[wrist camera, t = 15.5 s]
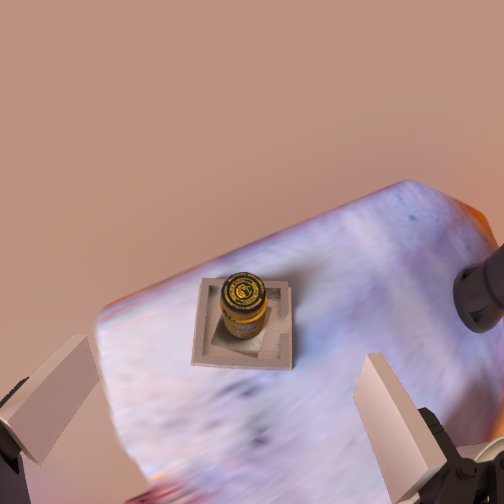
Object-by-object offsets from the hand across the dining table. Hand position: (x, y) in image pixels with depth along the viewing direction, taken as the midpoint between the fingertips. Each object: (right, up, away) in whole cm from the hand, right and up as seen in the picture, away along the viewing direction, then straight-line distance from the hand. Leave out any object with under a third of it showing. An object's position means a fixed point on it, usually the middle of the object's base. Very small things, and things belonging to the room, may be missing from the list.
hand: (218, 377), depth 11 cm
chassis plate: (0, -6, +31) cm, 31 cm away
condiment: (0, -6, +30) cm, 31 cm away
